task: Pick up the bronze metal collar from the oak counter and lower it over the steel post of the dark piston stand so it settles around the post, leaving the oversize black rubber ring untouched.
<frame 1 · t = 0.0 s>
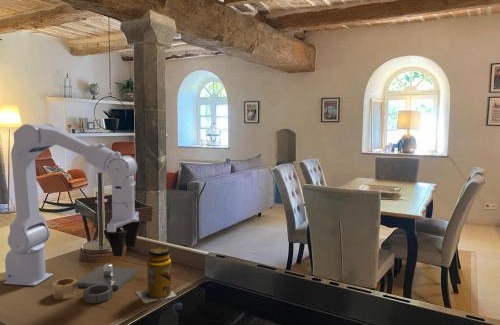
hand: (124, 251, 106), 10 cm above the countertop, fingers open, 7 cm apart
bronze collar: (65, 294, 102), on the countertop
black ring: (98, 297, 101), on the countertop
condiment: (156, 295, 103), on the countertop
piston stand: (108, 279, 112), on the countertop
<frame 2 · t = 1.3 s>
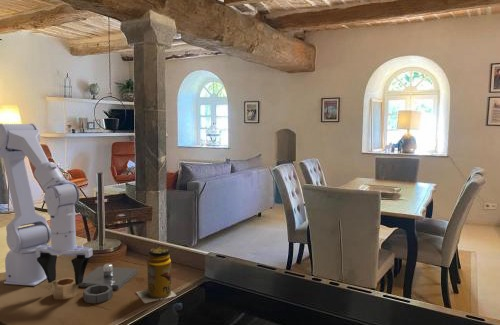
hand: (65, 282, 101), 3 cm above the countertop, fingers open, 7 cm apart
nothing on the countertop moved.
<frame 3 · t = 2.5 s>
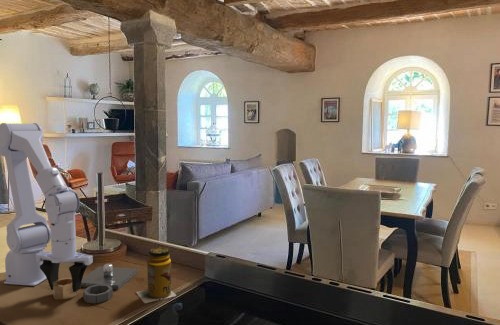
hand: (65, 289, 102), 1 cm above the countertop, fingers closed on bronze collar, 6 cm apart
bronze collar: (65, 294, 102), on the countertop, touching gripper
everything else where it was.
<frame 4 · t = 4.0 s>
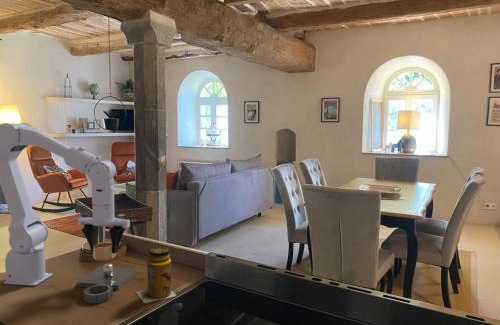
hand: (104, 251, 110), 8 cm above the countertop, fingers closed on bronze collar, 6 cm apart
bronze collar: (104, 256, 110), point 7 cm above the countertop, touching gripper
everything else where it was.
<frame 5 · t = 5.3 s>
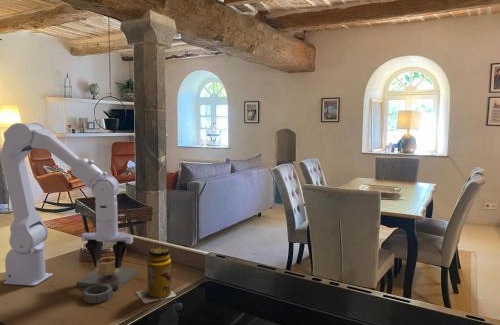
hand: (108, 266, 112), 4 cm above the countertop, fingers closed on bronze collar, 6 cm apart
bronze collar: (108, 271, 112), point 2 cm above the countertop, touching gripper
everything else where it was.
when the fingers open (4 cm above the countertop, at t = 5.9 s): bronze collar drops 1 cm, resting on piston stand.
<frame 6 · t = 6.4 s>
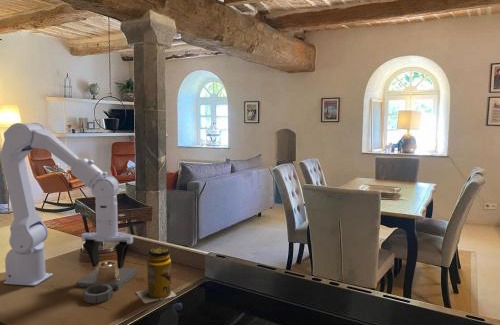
hand: (108, 266, 112), 4 cm above the countertop, fingers open, 7 cm apart
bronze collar: (107, 275, 112), point 1 cm above the countertop, touching piston stand
everything else where it was.
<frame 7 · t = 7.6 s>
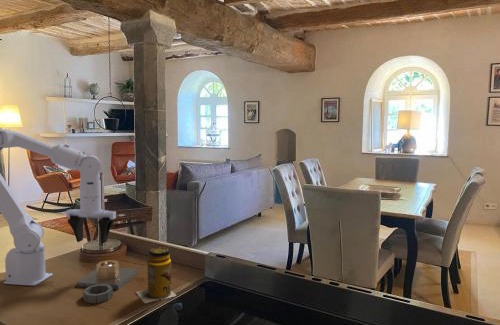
hand: (91, 241, 116), 9 cm above the countertop, fingers open, 7 cm apart
nothing on the countertop moved.
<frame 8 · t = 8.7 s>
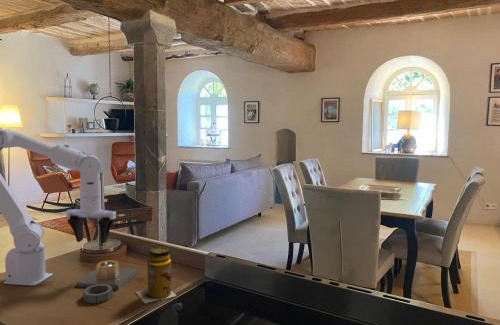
hand: (91, 241, 116), 9 cm above the countertop, fingers open, 7 cm apart
nothing on the countertop moved.
at the end: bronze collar 0.1 cm off-centre on the piston stand, point 1.2 cm above the piston stand's base; the gripper is holding nothing; black ring moved 0.0 cm from its start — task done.
